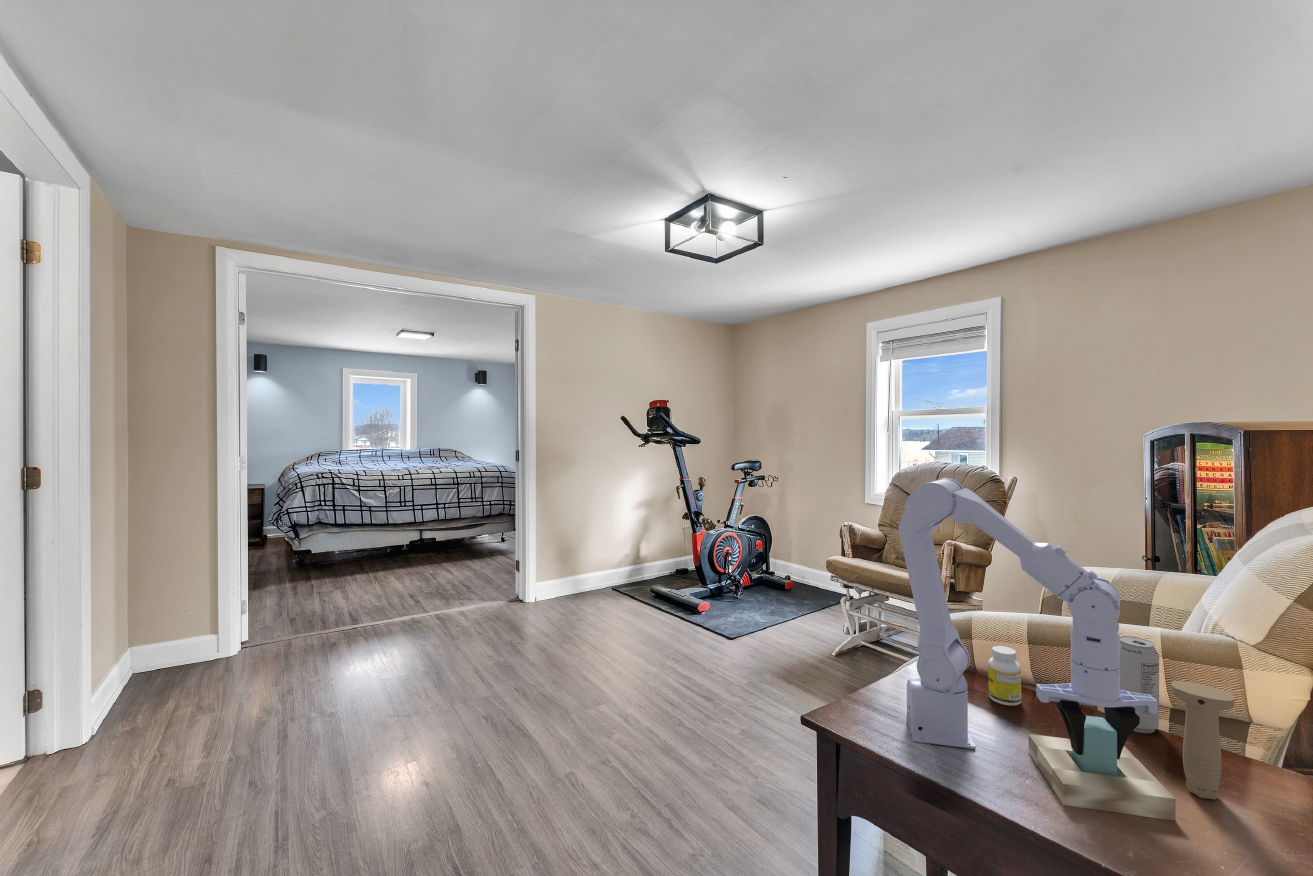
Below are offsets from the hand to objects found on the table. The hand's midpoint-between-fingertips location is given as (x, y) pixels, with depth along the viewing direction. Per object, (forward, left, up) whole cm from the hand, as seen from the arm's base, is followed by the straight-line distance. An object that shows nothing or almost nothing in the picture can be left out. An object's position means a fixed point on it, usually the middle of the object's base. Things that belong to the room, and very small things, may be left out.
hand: (1095, 753), depth 82 cm
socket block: (0, 0, -4) cm, 4 cm away
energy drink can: (+14, +20, -5) cm, 25 cm away
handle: (+13, +1, -5) cm, 14 cm away
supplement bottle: (-5, +25, -5) cm, 26 cm away
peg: (0, 0, -2) cm, 3 cm away
